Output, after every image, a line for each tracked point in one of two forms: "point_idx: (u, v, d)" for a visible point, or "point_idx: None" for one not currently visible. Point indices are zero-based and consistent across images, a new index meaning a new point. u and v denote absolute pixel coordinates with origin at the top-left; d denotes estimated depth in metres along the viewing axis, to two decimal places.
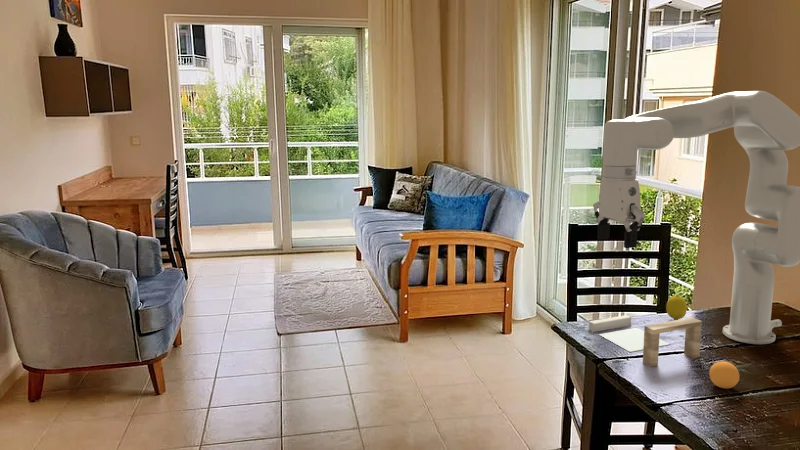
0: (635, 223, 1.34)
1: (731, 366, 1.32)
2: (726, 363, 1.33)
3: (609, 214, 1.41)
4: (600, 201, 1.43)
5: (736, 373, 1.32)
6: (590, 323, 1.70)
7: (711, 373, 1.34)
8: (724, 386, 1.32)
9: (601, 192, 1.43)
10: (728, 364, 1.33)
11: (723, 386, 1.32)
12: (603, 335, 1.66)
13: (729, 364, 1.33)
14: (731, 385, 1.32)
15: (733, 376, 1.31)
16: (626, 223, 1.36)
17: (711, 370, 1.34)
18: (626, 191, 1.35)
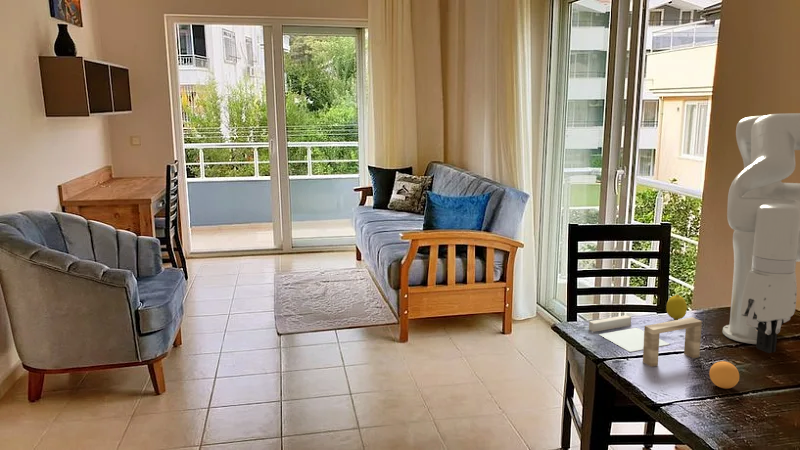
0: (782, 321, 1.22)
1: (731, 366, 1.32)
2: (726, 363, 1.33)
3: (778, 314, 1.19)
4: (766, 304, 1.18)
5: (736, 373, 1.32)
6: (590, 323, 1.70)
7: (711, 373, 1.34)
8: (724, 386, 1.32)
9: (768, 293, 1.17)
10: (728, 364, 1.33)
11: (723, 386, 1.32)
12: (603, 335, 1.66)
13: (729, 364, 1.33)
14: (731, 385, 1.32)
15: (733, 376, 1.31)
16: (780, 324, 1.21)
17: (711, 370, 1.34)
18: None
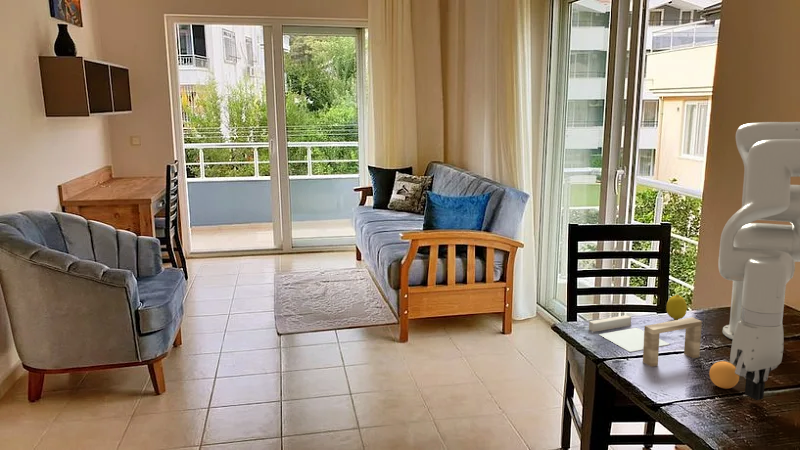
0: (770, 369, 1.26)
1: (731, 366, 1.32)
2: (726, 363, 1.33)
3: (765, 364, 1.23)
4: (754, 355, 1.22)
5: None
6: (590, 323, 1.70)
7: (711, 373, 1.34)
8: (724, 386, 1.32)
9: (756, 345, 1.21)
10: (728, 364, 1.33)
11: (723, 386, 1.32)
12: (603, 335, 1.66)
13: (729, 364, 1.33)
14: (731, 385, 1.32)
15: (733, 376, 1.31)
16: (767, 372, 1.25)
17: (711, 370, 1.34)
18: None
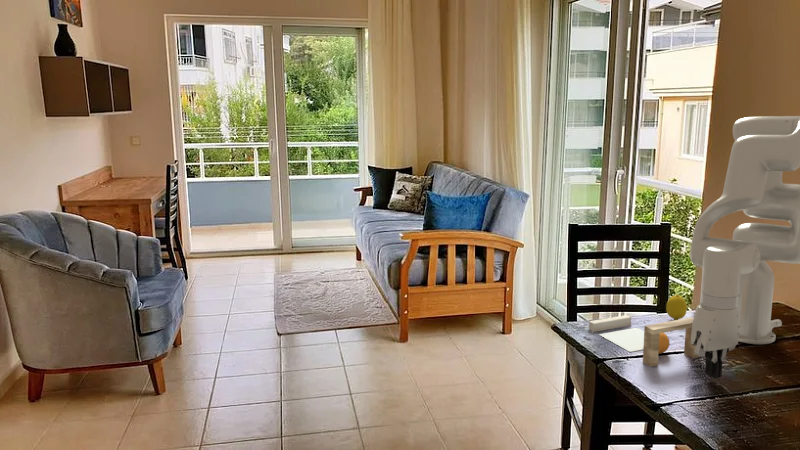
0: (727, 349, 1.36)
1: None
2: None
3: (722, 345, 1.33)
4: (711, 336, 1.32)
5: (664, 337, 1.51)
6: (590, 323, 1.70)
7: None
8: None
9: (713, 326, 1.31)
10: None
11: None
12: (603, 335, 1.66)
13: None
14: (662, 348, 1.51)
15: (662, 339, 1.51)
16: (725, 352, 1.35)
17: None
18: None
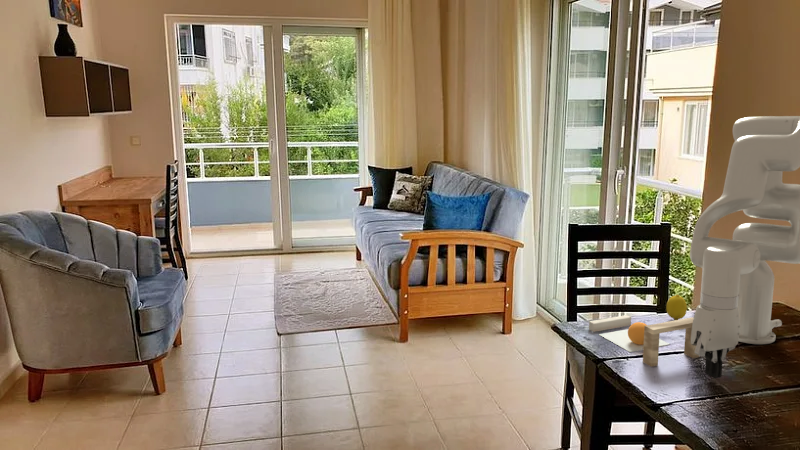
0: (727, 349, 1.36)
1: None
2: None
3: (722, 345, 1.33)
4: (711, 336, 1.32)
5: None
6: (590, 323, 1.70)
7: (632, 339, 1.58)
8: (635, 325, 1.58)
9: (713, 326, 1.31)
10: None
11: (635, 326, 1.58)
12: (603, 335, 1.66)
13: None
14: (635, 323, 1.59)
15: None
16: (725, 352, 1.35)
17: (633, 341, 1.58)
18: None
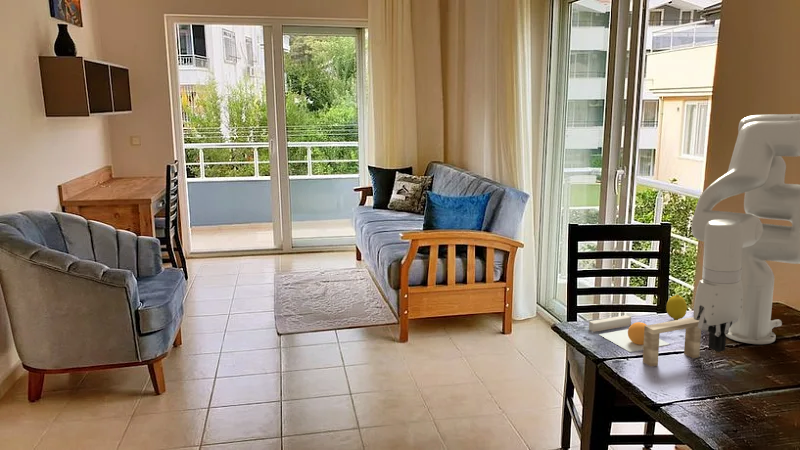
0: (731, 323, 1.36)
1: None
2: None
3: (725, 318, 1.33)
4: (714, 310, 1.31)
5: None
6: (590, 323, 1.70)
7: (632, 339, 1.58)
8: (635, 325, 1.58)
9: (716, 301, 1.31)
10: None
11: (635, 326, 1.58)
12: (603, 335, 1.66)
13: None
14: (635, 323, 1.59)
15: None
16: (728, 326, 1.35)
17: (633, 341, 1.58)
18: None
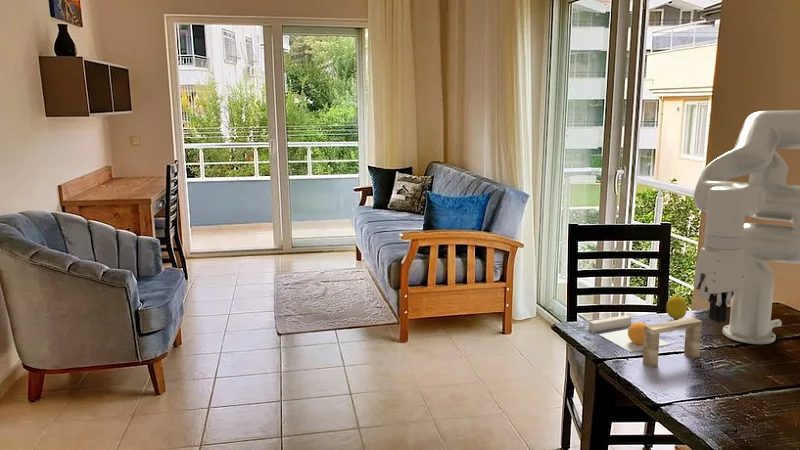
0: (732, 293, 1.33)
1: None
2: None
3: (727, 287, 1.31)
4: (716, 278, 1.29)
5: None
6: (590, 323, 1.70)
7: (632, 339, 1.58)
8: (635, 325, 1.58)
9: (718, 268, 1.29)
10: None
11: (635, 326, 1.58)
12: (603, 335, 1.66)
13: None
14: (635, 323, 1.59)
15: None
16: (729, 296, 1.33)
17: (633, 341, 1.58)
18: None
